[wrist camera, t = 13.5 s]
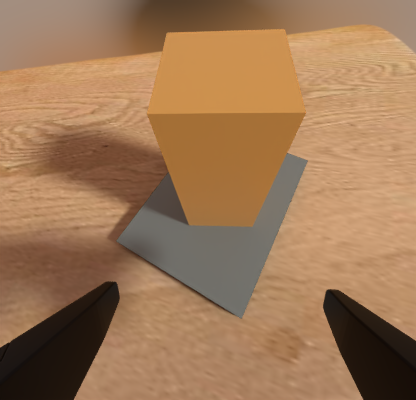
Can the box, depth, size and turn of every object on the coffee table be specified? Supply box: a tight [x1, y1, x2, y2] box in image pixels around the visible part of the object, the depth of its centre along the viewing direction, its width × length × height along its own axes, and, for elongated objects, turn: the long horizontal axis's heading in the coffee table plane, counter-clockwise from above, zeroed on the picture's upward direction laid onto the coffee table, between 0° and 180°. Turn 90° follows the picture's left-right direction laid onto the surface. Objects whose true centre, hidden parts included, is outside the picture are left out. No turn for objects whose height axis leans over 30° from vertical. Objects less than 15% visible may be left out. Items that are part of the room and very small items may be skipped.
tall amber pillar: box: [147, 29, 306, 227], centre depth 14 cm, size 6×6×12 cm
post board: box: [117, 153, 307, 319], centre depth 18 cm, size 16×12×4 cm
